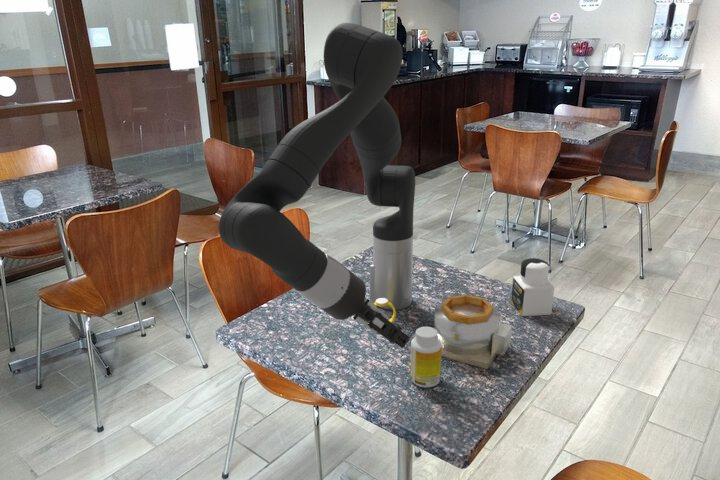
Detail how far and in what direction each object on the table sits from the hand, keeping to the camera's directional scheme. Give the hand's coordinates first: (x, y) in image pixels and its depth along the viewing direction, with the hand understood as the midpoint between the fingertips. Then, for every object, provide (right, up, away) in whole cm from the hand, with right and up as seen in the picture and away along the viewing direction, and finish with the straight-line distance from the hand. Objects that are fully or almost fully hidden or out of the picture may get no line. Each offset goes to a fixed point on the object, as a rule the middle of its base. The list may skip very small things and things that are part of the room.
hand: (391, 331), depth 95 cm
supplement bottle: (+7, -11, +8) cm, 15 cm away
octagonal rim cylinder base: (+16, -6, +20) cm, 26 cm away
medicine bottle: (+34, -1, +34) cm, 48 cm away
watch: (0, -3, +28) cm, 28 cm away
